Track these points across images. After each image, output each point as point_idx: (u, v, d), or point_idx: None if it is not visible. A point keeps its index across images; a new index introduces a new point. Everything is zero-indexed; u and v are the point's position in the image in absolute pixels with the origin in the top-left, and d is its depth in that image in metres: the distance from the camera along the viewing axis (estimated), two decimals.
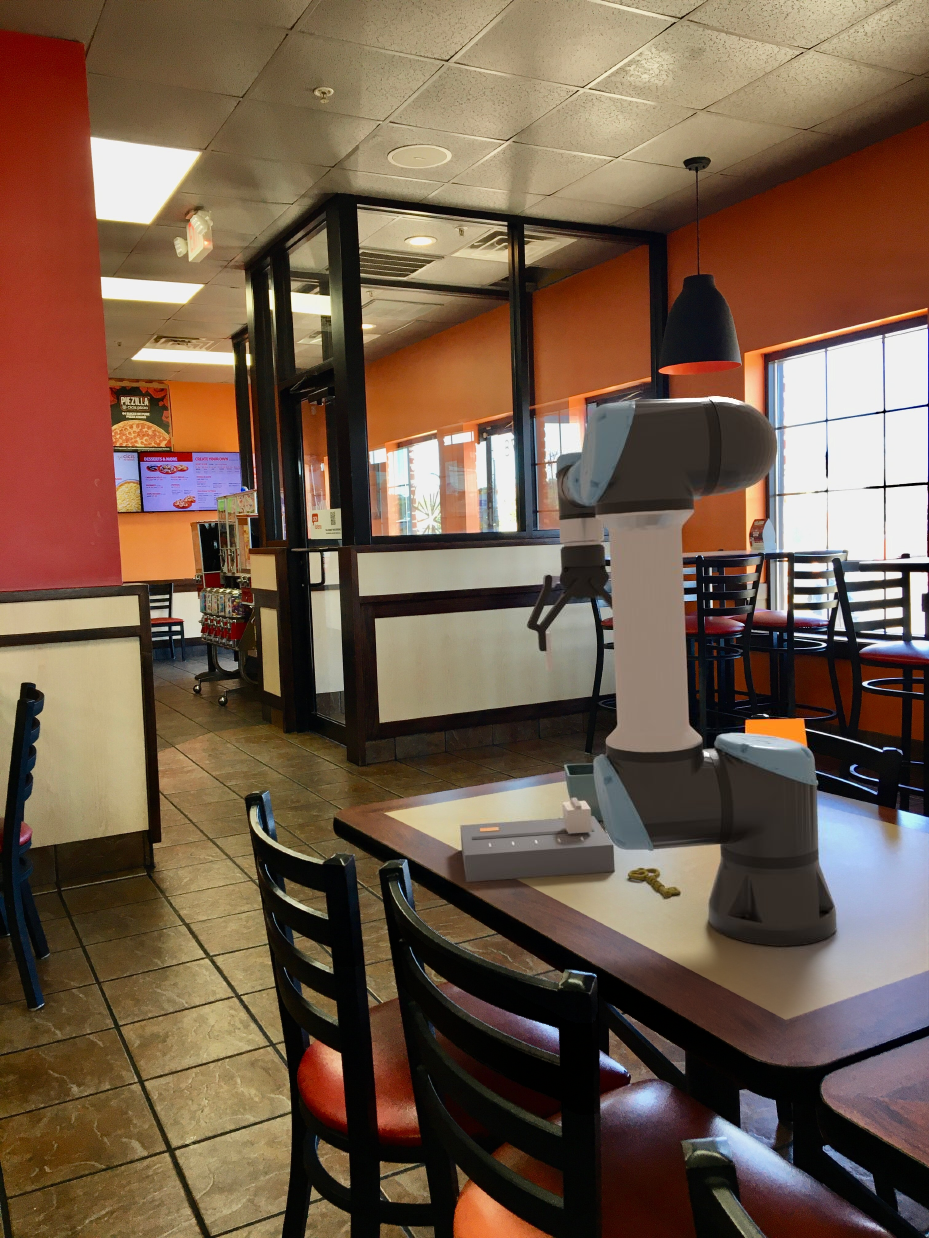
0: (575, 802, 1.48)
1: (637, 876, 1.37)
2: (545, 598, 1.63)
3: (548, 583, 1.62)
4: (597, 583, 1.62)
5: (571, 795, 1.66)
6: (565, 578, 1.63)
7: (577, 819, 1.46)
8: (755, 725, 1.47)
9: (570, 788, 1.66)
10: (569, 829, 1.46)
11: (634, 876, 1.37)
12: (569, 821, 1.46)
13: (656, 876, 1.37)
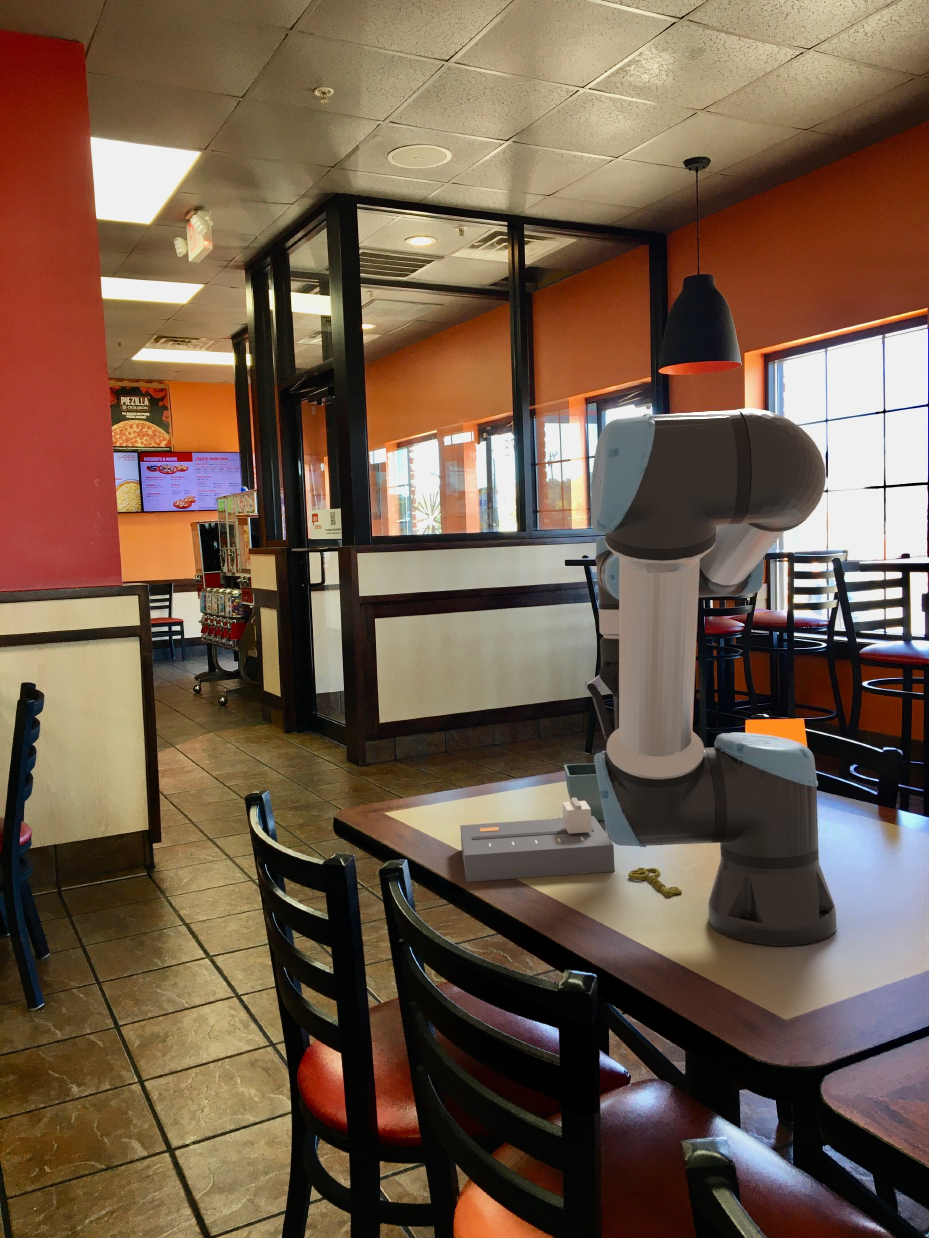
0: (575, 802, 1.48)
1: (638, 876, 1.37)
2: (602, 706, 1.47)
3: (594, 691, 1.47)
4: None
5: (571, 795, 1.66)
6: (605, 675, 1.47)
7: (577, 819, 1.46)
8: (755, 725, 1.47)
9: (570, 788, 1.66)
10: (569, 829, 1.46)
11: (635, 876, 1.37)
12: (569, 821, 1.46)
13: (656, 876, 1.37)
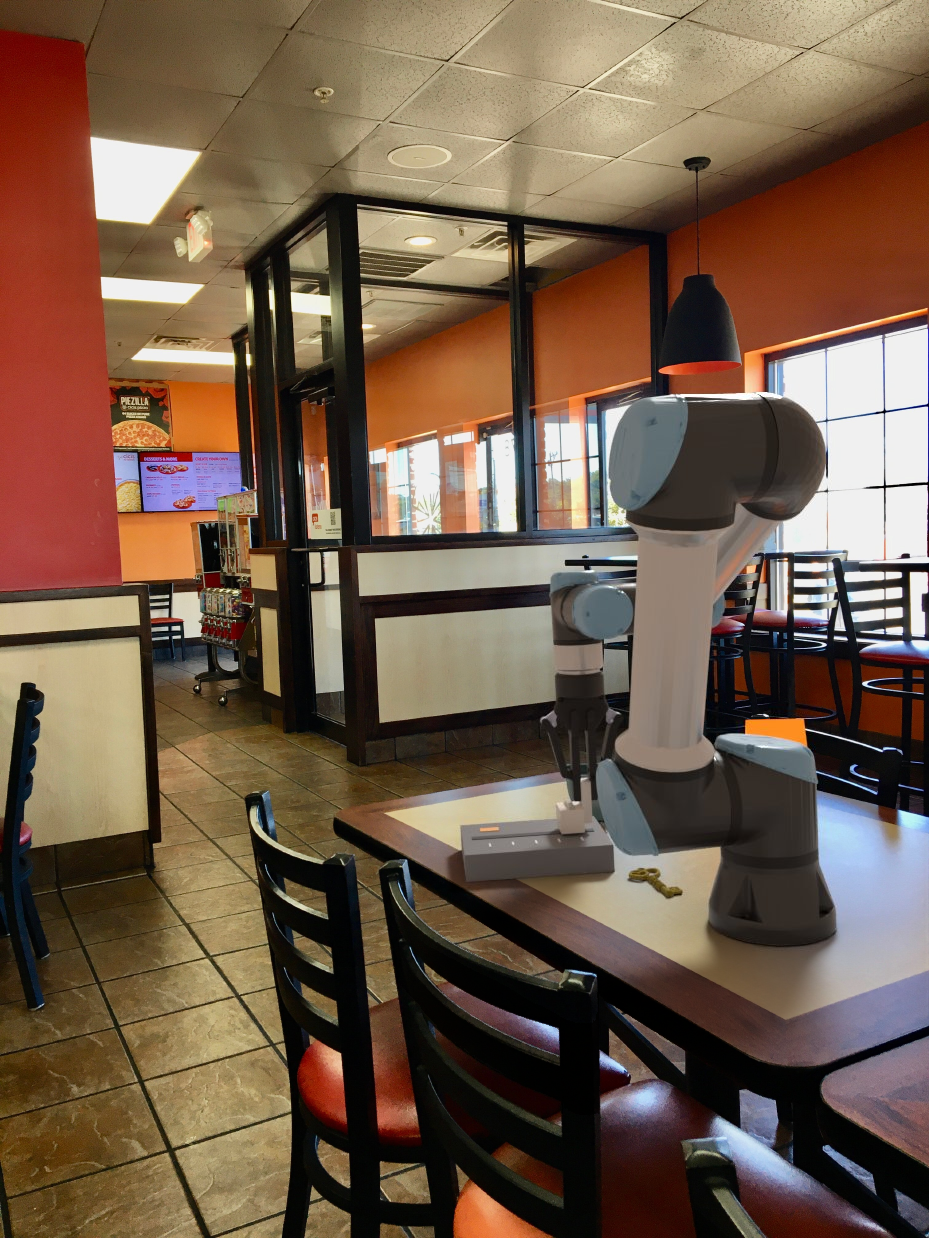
0: (568, 802, 1.48)
1: (638, 876, 1.37)
2: (557, 741, 1.47)
3: (549, 727, 1.47)
4: (593, 717, 1.46)
5: (571, 795, 1.66)
6: (560, 710, 1.47)
7: (570, 820, 1.46)
8: (755, 725, 1.47)
9: (570, 788, 1.66)
10: (562, 829, 1.46)
11: (635, 876, 1.37)
12: (562, 821, 1.46)
13: (657, 876, 1.38)
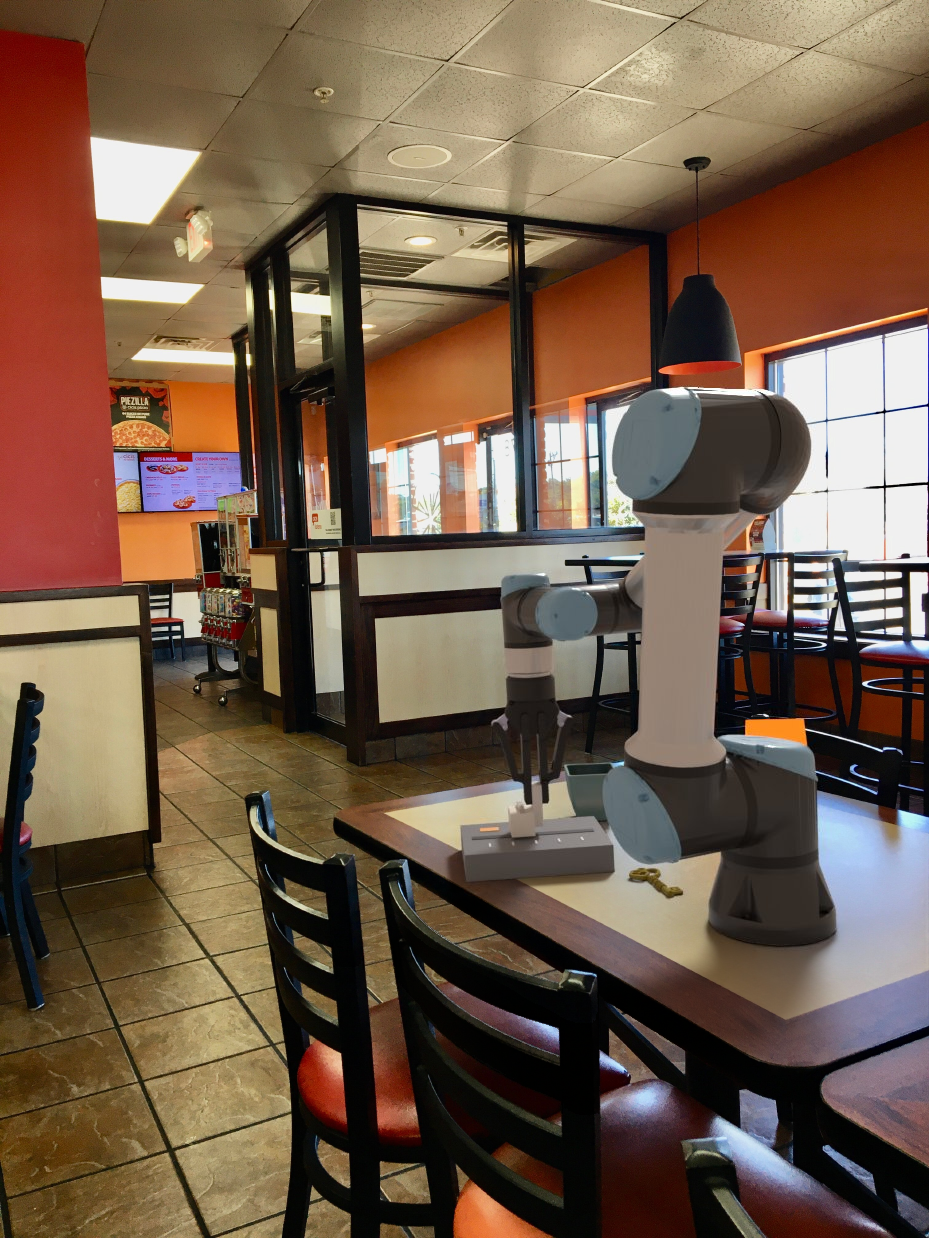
0: (519, 806, 1.48)
1: (638, 876, 1.37)
2: (507, 745, 1.46)
3: (499, 730, 1.46)
4: (543, 721, 1.46)
5: (571, 795, 1.66)
6: (510, 713, 1.46)
7: (520, 823, 1.46)
8: (755, 725, 1.47)
9: (570, 788, 1.66)
10: (513, 833, 1.46)
11: (635, 876, 1.37)
12: (513, 825, 1.46)
13: (657, 876, 1.38)
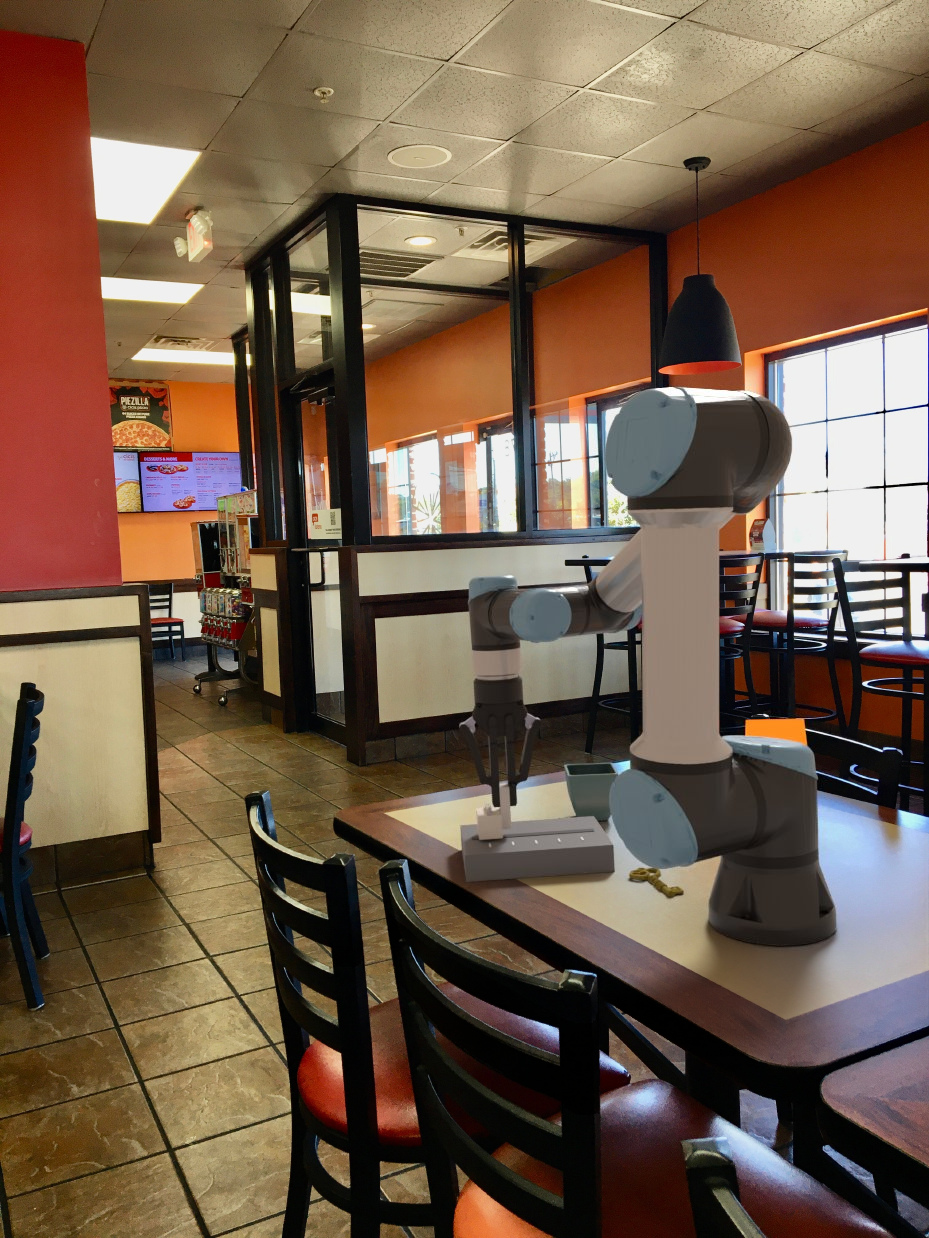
0: (487, 808, 1.48)
1: (639, 876, 1.37)
2: (475, 747, 1.46)
3: (467, 732, 1.46)
4: (511, 723, 1.45)
5: (571, 795, 1.66)
6: (478, 716, 1.46)
7: (488, 825, 1.46)
8: (755, 725, 1.47)
9: (570, 788, 1.66)
10: (480, 835, 1.46)
11: (636, 876, 1.37)
12: (480, 827, 1.46)
13: (657, 876, 1.38)
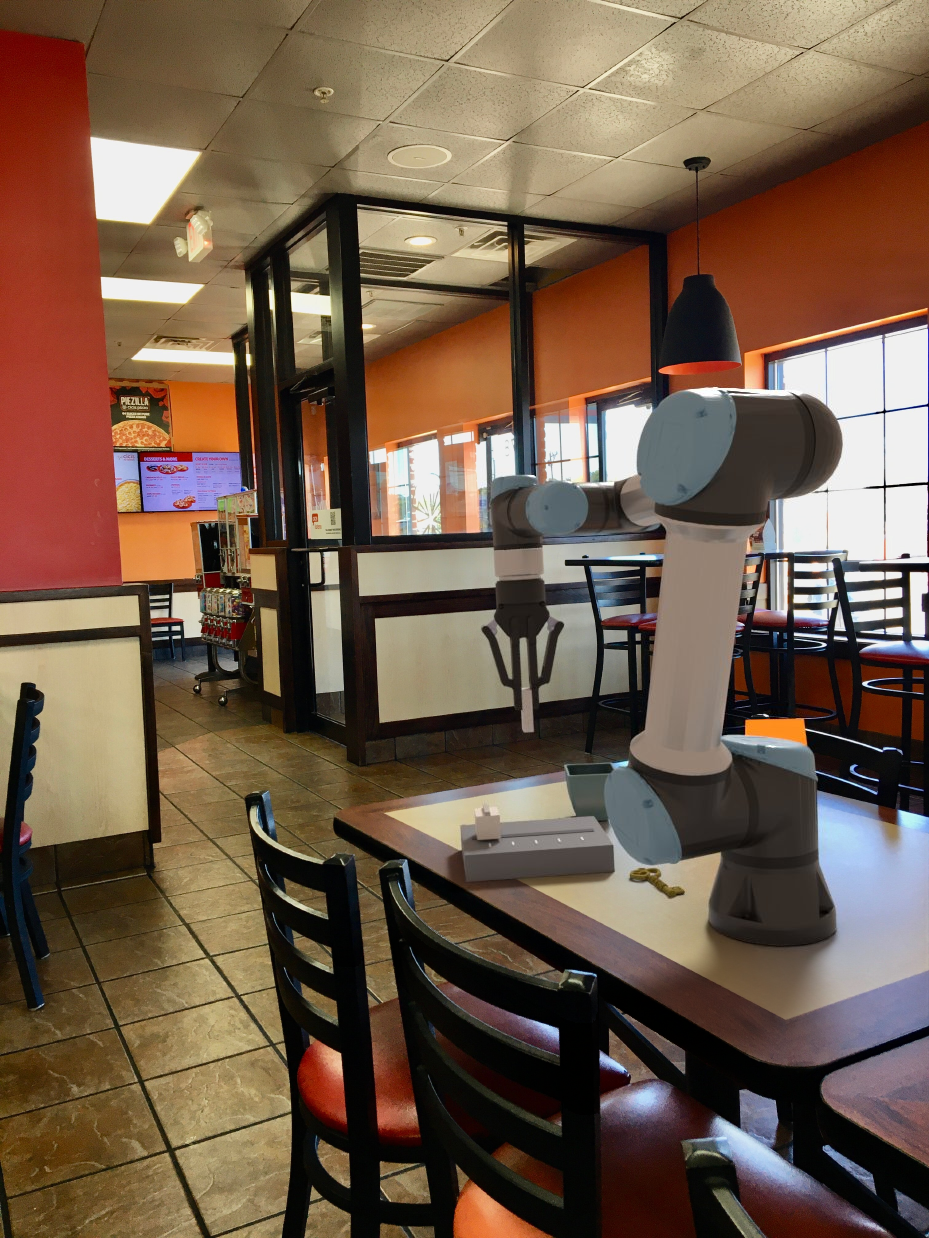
0: (485, 808, 1.48)
1: (639, 876, 1.37)
2: (497, 649, 1.45)
3: (489, 634, 1.45)
4: (533, 624, 1.45)
5: (571, 795, 1.66)
6: (500, 617, 1.45)
7: (485, 826, 1.46)
8: (755, 725, 1.47)
9: (570, 788, 1.66)
10: (478, 835, 1.46)
11: (636, 876, 1.37)
12: (478, 827, 1.46)
13: (658, 876, 1.38)
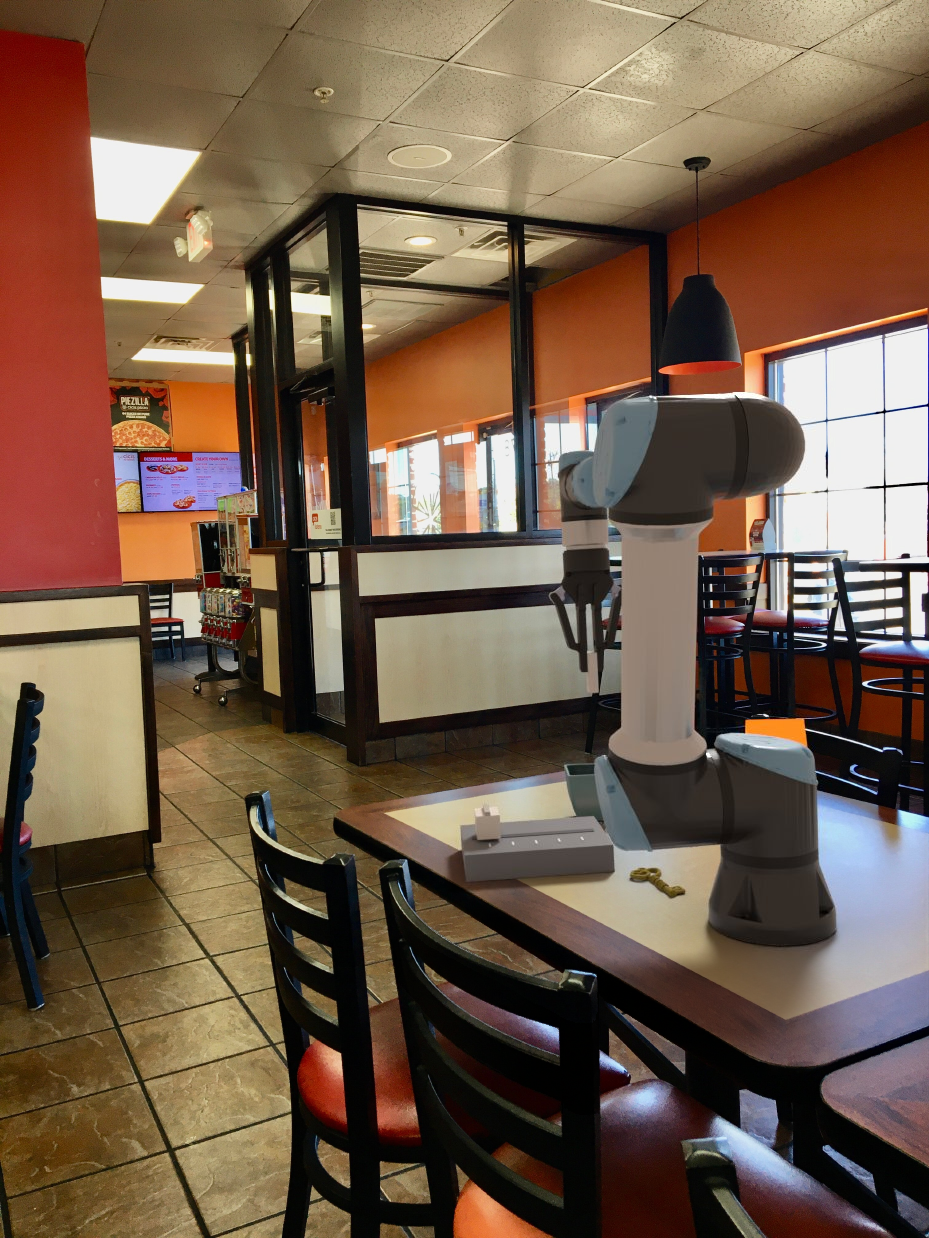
0: (485, 808, 1.48)
1: (640, 876, 1.37)
2: (565, 614, 1.55)
3: (557, 600, 1.54)
4: (599, 591, 1.54)
5: (571, 795, 1.66)
6: (567, 585, 1.54)
7: (485, 826, 1.46)
8: (755, 725, 1.47)
9: (570, 788, 1.66)
10: (478, 835, 1.46)
11: (637, 876, 1.37)
12: (478, 827, 1.46)
13: (658, 875, 1.38)
